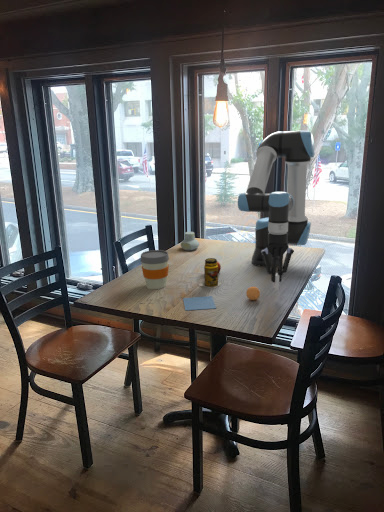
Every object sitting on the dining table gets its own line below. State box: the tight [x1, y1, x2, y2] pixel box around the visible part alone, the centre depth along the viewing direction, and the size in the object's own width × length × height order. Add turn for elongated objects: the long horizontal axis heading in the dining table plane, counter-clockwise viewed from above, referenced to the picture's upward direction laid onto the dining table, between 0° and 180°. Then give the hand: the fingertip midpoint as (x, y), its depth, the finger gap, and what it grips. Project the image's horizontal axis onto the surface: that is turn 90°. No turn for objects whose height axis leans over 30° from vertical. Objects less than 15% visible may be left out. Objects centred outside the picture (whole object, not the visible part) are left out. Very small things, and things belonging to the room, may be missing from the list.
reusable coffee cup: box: [140, 249, 170, 290], centre depth 179 cm, size 13×13×15 cm
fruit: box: [217, 260, 222, 275], centre depth 192 cm, size 8×8×8 cm
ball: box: [245, 286, 261, 301], centre depth 162 cm, size 6×6×6 cm
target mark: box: [182, 295, 217, 312], centre depth 161 cm, size 12×12×1 cm
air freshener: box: [180, 231, 200, 251], centre depth 235 cm, size 11×8×10 cm
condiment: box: [197, 257, 222, 289], centre depth 179 cm, size 7×8×12 cm
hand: (276, 289), depth 162 cm, fingers closed
